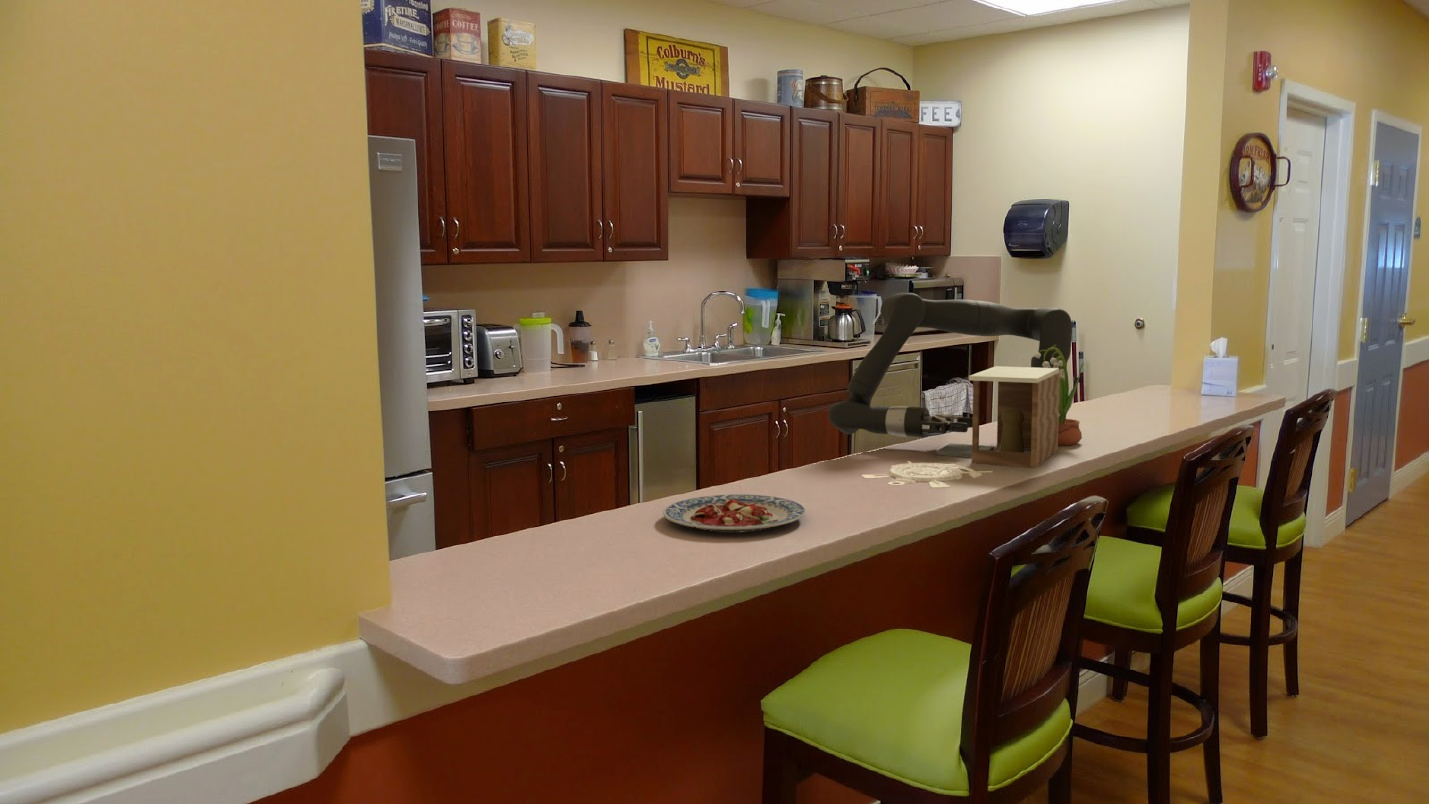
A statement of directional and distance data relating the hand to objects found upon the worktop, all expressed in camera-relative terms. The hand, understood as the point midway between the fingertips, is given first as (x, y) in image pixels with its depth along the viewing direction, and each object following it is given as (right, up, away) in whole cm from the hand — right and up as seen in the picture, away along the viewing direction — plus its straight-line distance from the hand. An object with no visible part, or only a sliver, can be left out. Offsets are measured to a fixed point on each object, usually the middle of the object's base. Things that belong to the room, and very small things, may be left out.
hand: (972, 425), depth 246 cm
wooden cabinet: (+9, -7, -4) cm, 13 cm away
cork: (+8, -7, -4) cm, 12 cm away
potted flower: (+24, -5, +12) cm, 28 cm away
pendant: (-16, -11, -23) cm, 30 cm away
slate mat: (-1, -7, +2) cm, 7 cm away
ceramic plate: (-58, -16, -61) cm, 86 cm away
